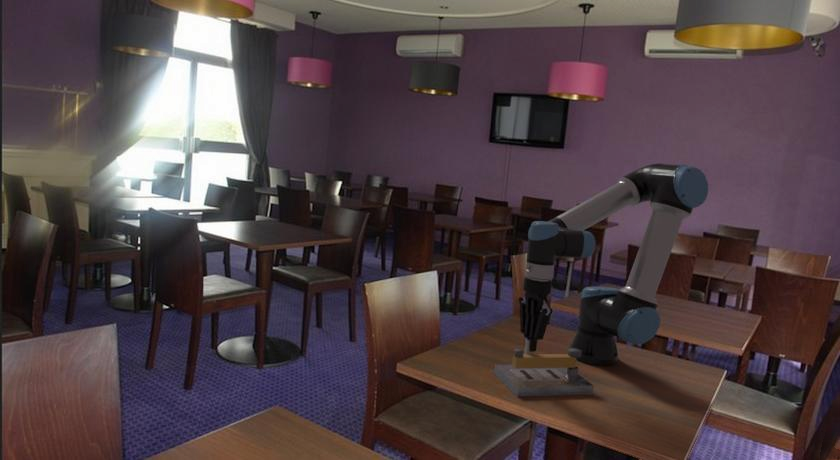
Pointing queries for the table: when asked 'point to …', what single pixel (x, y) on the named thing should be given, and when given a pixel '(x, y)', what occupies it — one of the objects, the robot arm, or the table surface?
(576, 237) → the robot arm
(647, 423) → the table surface
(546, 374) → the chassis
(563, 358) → the yellow wooden bar
